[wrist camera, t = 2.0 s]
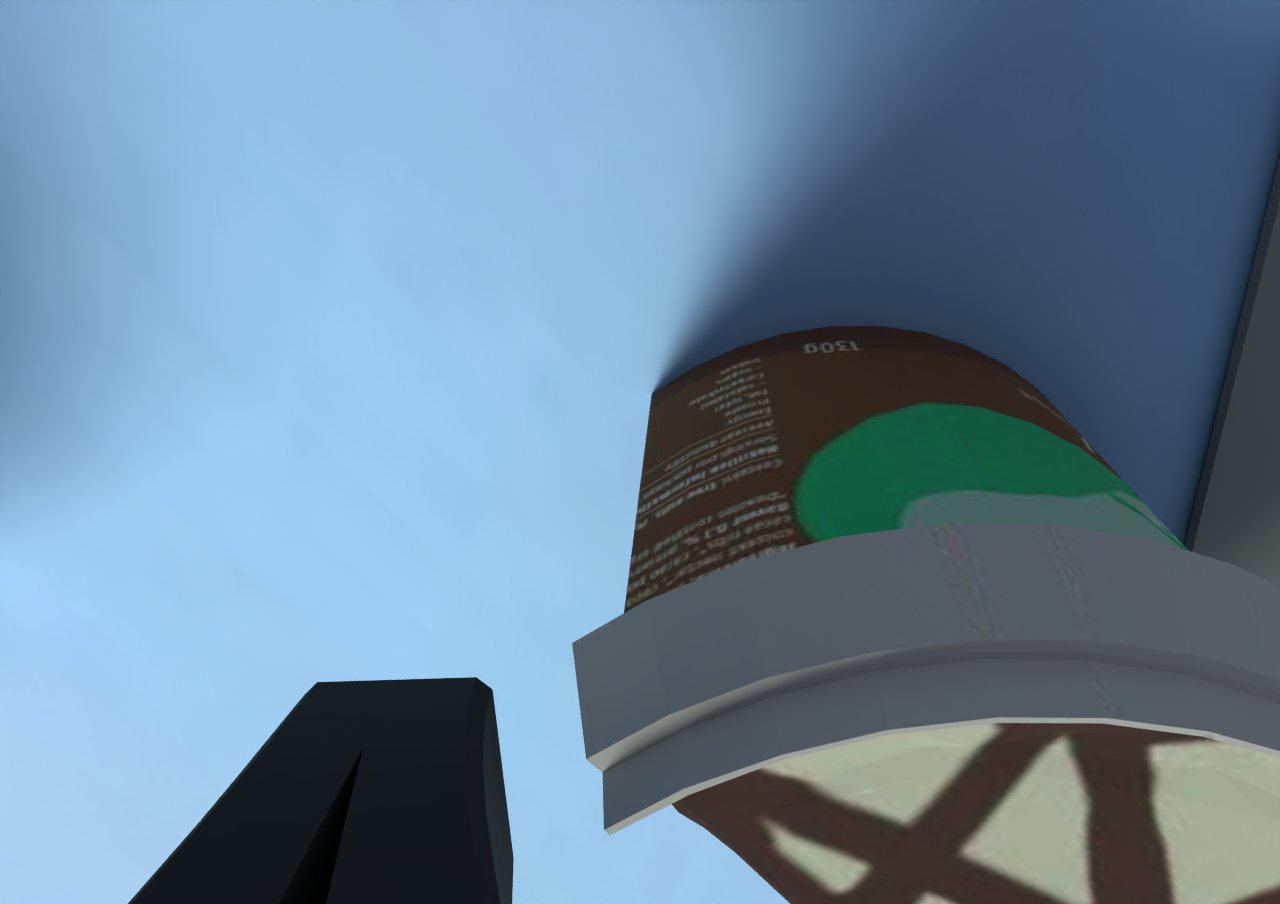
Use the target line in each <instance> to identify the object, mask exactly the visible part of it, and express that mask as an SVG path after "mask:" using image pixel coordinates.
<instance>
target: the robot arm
mask: <svg viewBox="0 0 1280 904" xmlns="http://www.w3.org/2000/svg"><path fill="white" fill-rule="evenodd" d="M512 887H513V851H512V843H511V835H510V827H509V819H508V811H507V803H506V795H505V787H504V779H503V771H502V763H501V754H500V746H499V738H498V730H497V722H496V714H495V706H494V698H493V690H492V689H491V688H490V687H488V686H487V685H486V684H485V683H483V682H482V681H481V680H479V679H478V678H477V677H474V678H441V679H409V680H376V681H343V682H317V683H316V684H315V685H314V686H313V687H312V688H311V689H310V690H309V691H308V692H307V693H306V694H305V695H304V696H303V697H302V699H301V700H300V701H299V702H298V704H297V705H296V706H295V707H294V708H293V710H292V711H291V712H290V713H289V714H288V716H287V717H286V718H285V719H284V720H283V722H282V723H281V724H280V725H279V727H278V728H277V729H276V730H275V731H274V733H273V734H272V735H271V736H270V738H269V739H268V740H267V741H266V742H265V744H264V745H263V746H262V747H261V749H260V750H259V751H258V752H257V753H256V755H255V756H254V757H253V758H252V760H251V761H250V762H249V763H248V764H247V766H246V767H245V768H244V769H243V771H242V772H241V773H240V774H239V775H238V777H237V778H236V779H235V780H234V781H233V783H232V784H231V785H230V786H229V787H228V789H227V790H226V791H225V792H224V793H223V795H222V796H221V797H220V798H219V799H218V800H217V802H216V803H215V804H214V805H213V806H212V808H211V809H210V810H209V811H208V812H207V814H206V815H205V816H204V817H203V818H202V820H201V821H200V822H199V823H198V824H197V825H196V827H195V828H194V829H193V830H192V831H191V832H190V833H189V835H188V836H187V837H186V838H185V839H184V840H183V841H182V843H181V844H180V845H179V846H178V847H177V848H176V849H175V851H174V852H173V853H172V854H171V855H170V856H169V857H168V859H167V860H166V861H165V862H164V863H163V864H162V865H161V867H160V868H159V869H158V870H157V871H156V872H155V873H154V875H153V876H152V877H151V878H150V879H149V880H148V881H147V883H146V884H145V885H144V886H143V887H142V888H141V889H140V891H139V892H138V893H137V894H136V895H135V896H134V897H133V898H132V900H131V901H130V902H129V903H128V904H512Z"/></svg>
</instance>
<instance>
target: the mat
mask: <svg viewBox="0 0 1280 904" xmlns="http://www.w3.org/2000/svg"><path fill="white" fill-rule="evenodd" d="M1184 546H1185V547H1186V548H1187V549H1188V550H1189V551H1191V552H1194V553H1197V554H1201V555H1204V556H1207V557H1211V558H1214V559H1217V560H1221V561H1224V562H1227V563H1231V564H1234V565H1236V566H1238V567H1240V568H1242V569H1244V570H1246V571H1248V572H1250V573H1252V574H1254V575H1256V576H1258V577H1260V578H1262V579H1264V580H1266V581H1268V582H1270V583H1272V584H1274V585H1276V586H1278V587H1280V157H1279V161H1278V165H1277V169H1276V173H1275V177H1274V181H1273V185H1272V189H1271V193H1270V197H1269V202H1268V206H1267V210H1266V214H1265V218H1264V222H1263V226H1262V230H1261V234H1260V238H1259V242H1258V246H1257V250H1256V255H1255V259H1254V263H1253V267H1252V271H1251V275H1250V279H1249V283H1248V287H1247V291H1246V295H1245V299H1244V303H1243V308H1242V312H1241V316H1240V320H1239V324H1238V328H1237V332H1236V336H1235V340H1234V344H1233V348H1232V352H1231V356H1230V361H1229V365H1228V369H1227V373H1226V377H1225V381H1224V385H1223V389H1222V393H1221V397H1220V401H1219V405H1218V409H1217V414H1216V418H1215V422H1214V426H1213V430H1212V434H1211V438H1210V442H1209V446H1208V450H1207V454H1206V458H1205V462H1204V467H1203V471H1202V475H1201V479H1200V483H1199V487H1198V491H1197V495H1196V499H1195V503H1194V507H1193V511H1192V515H1191V520H1190V524H1189V528H1188V532H1187V536H1186V540H1185V544H1184Z"/></svg>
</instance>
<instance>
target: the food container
mask: <svg viewBox="0 0 1280 904" xmlns="http://www.w3.org/2000/svg"><path fill="white" fill-rule="evenodd" d="M572 644H573V653H574V661H575V669H576V678H577V686H578V694H579V703H580V711H581V719H582V727H583V736H584V744H585V752H586V759H587V760H588V761H589V762H591V763H592V764H593V765H594V766H595V767H597V768H598V769H599V770H601V771H602V772H603V807H604V830H605V831H606V832H607V833H608V834H610V835H611V834H613V833H615V832H617V831H619V830H621V829H623V828H625V827H627V826H629V825H631V824H633V823H635V822H637V821H639V820H641V819H642V818H644V817H646V816H648V815H650V814H652V813H654V812H656V811H658V810H660V809H662V808H664V807H666V806H668V805H670V804H672V805H673V806H674V807H675V808H676V810H677V811H678V812H679V813H681V814H682V815H684V816H686V817H687V818H689V819H691V820H692V821H694V822H696V823H697V824H699V825H701V826H702V827H704V828H705V829H706V830H708V831H709V832H710V833H711V834H713V835H714V836H715V837H716V838H718V839H719V840H720V841H722V842H723V843H724V844H725V845H727V846H728V847H729V848H730V849H732V850H733V851H734V852H735V853H736V854H738V855H739V856H740V857H741V858H742V859H743V860H744V861H745V862H746V863H747V864H748V865H749V866H750V867H751V868H753V869H754V870H755V871H756V872H757V873H758V874H759V875H760V876H761V877H762V878H763V879H764V880H765V881H767V882H768V883H769V884H770V885H771V886H772V887H773V888H774V889H775V890H776V891H777V892H778V893H779V894H781V895H782V896H783V897H784V898H785V899H786V900H787V901H788V902H789V903H790V904H1280V587H1278V586H1276V585H1274V584H1272V583H1270V582H1268V581H1266V580H1264V579H1262V578H1260V577H1258V576H1256V575H1254V574H1252V573H1250V572H1248V571H1246V570H1244V569H1242V568H1240V567H1238V566H1236V565H1234V564H1231V563H1227V562H1224V561H1221V560H1217V559H1214V558H1211V557H1207V556H1204V555H1201V554H1197V553H1194V552H1191V551H1189V550H1188V549H1187V548H1186V547H1185V546H1184V545H1183V544H1182V543H1181V542H1180V541H1179V540H1178V538H1177V537H1176V536H1175V535H1174V534H1173V533H1172V532H1171V531H1170V530H1169V529H1168V528H1167V527H1166V526H1165V525H1164V524H1163V522H1162V521H1161V520H1160V519H1159V518H1158V517H1157V516H1156V515H1155V514H1154V513H1153V512H1152V511H1151V510H1150V509H1149V508H1148V506H1147V505H1146V504H1145V503H1144V502H1143V501H1142V500H1141V499H1140V498H1139V497H1138V496H1137V495H1136V494H1135V493H1134V492H1133V491H1132V489H1131V488H1130V487H1129V486H1128V485H1127V484H1126V483H1125V482H1124V481H1123V480H1122V479H1121V478H1120V477H1119V476H1118V475H1117V473H1116V472H1115V471H1114V470H1113V469H1112V468H1111V467H1110V466H1109V465H1108V464H1107V463H1106V462H1105V461H1104V460H1103V459H1102V457H1101V456H1100V455H1099V454H1098V453H1097V452H1096V451H1095V450H1094V449H1093V448H1092V447H1091V446H1090V445H1089V444H1088V443H1087V441H1086V440H1085V439H1084V438H1083V437H1082V436H1081V435H1080V434H1079V433H1078V432H1077V431H1076V430H1075V429H1074V428H1073V427H1072V426H1071V424H1070V423H1069V422H1068V421H1067V420H1066V419H1065V418H1064V417H1063V416H1062V415H1061V414H1060V413H1059V412H1058V411H1057V410H1056V408H1055V407H1054V406H1053V405H1052V404H1051V403H1050V402H1049V401H1048V400H1047V399H1046V398H1045V397H1044V396H1043V395H1042V394H1041V392H1040V391H1039V390H1038V389H1037V388H1035V387H1034V386H1033V385H1031V384H1030V383H1029V382H1027V381H1026V380H1025V379H1023V378H1022V377H1021V376H1019V375H1018V374H1017V373H1015V372H1014V371H1013V370H1011V369H1010V368H1009V367H1007V366H1006V365H1005V364H1003V363H1001V362H999V361H997V360H995V359H993V358H991V357H989V356H987V355H985V354H983V353H981V352H979V351H977V350H975V349H973V348H971V347H969V346H967V345H964V344H960V343H957V342H954V341H951V340H947V339H944V338H941V337H938V336H934V335H931V334H928V333H924V332H917V331H910V330H903V329H896V328H889V327H882V326H832V327H825V328H818V329H812V330H805V331H799V332H792V333H785V334H781V335H778V336H774V337H771V338H768V339H764V340H761V341H758V342H754V343H751V344H748V345H744V346H741V347H738V348H735V349H733V350H731V351H729V352H727V353H724V354H722V355H720V356H718V357H716V358H713V359H711V360H709V361H707V362H705V363H702V364H700V365H698V366H696V367H694V368H692V369H691V370H689V371H688V372H686V373H685V374H683V375H681V376H680V377H678V378H677V379H675V380H674V381H672V382H671V383H669V384H668V385H666V386H664V387H663V388H661V389H660V390H658V391H657V392H655V393H654V394H652V396H651V404H650V411H649V419H648V427H647V435H646V443H645V451H644V459H643V467H642V475H641V483H640V491H639V499H638V507H637V515H636V523H635V531H634V539H633V547H632V554H631V562H630V570H629V578H628V586H627V594H626V602H625V610H624V614H622V615H621V616H619V617H617V618H615V619H614V620H612V621H610V622H608V623H607V624H605V625H603V626H601V627H600V628H598V629H596V630H594V631H593V632H591V633H589V634H587V635H586V636H584V637H582V638H580V639H579V640H577V641H575V642H573V643H572Z"/></svg>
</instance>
